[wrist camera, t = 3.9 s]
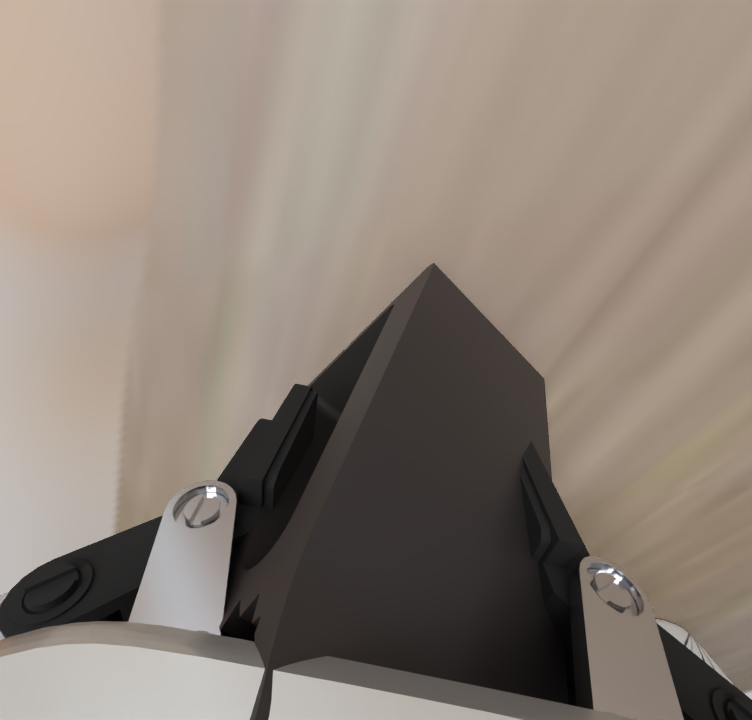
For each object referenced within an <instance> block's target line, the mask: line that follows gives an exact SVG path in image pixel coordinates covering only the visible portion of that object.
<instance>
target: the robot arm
mask: <svg viewBox="0 0 752 720" xmlns="http://www.w3.org/2000/svg"><path fill="white" fill-rule="evenodd" d="M317 399H318V393H317V392H313V388H312V387H310V386H305V385H300V384H295V385H294V386H293V388H292V389H291V391H290V392H289V394H288V396H287V397H286V399H285V400H284V402H283V404H282V405H281V407H280V408H279V410H278V412H277V413H276V415H275V417H274V418H273V420H267V419H259V421H258V422H257V423H256V424H255V426H254V427H253V429H252V430H251V432H250V433H249V435H248V436H247V437H246V439H245V440H244V442H243V443H242V445H241V446H240V448H239V449H238V451H237V452H236V453H235V455H234V456H233V458H232V459H231V461H230V462H229V464H228V465H227V467H226V468H225V469H224V471H223V472H222V474H221V475H220V477H219V478H218V480H217V481H211V480H207V481H201V482H196V483H194V484H191V485H189V486H186V487H185V488H183V489H182V490H180V491H179V492H177V493H176V494H175V495H174V496H173V497H172V498H171V500H170V501H169V503H168V505H167V506H166V508H165V511H164V514H163V516H160V517H158V518H155V519H153V520H150V521H148V522H145V523H143V524H140V525H138V526H135V527H133V528H131V529H128V530H126V531H123V532H121V533H118V534H116V535H113V536H111V537H108V538H106V539H103V540H101V541H98V542H96V543H93V544H91V545H88V546H86V547H83V548H81V549H78V550H76V551H73V552H71V553H69V554H66V555H63V556H61V557H58V558H56V559H54V560H52V561H50V562H47V563H46V564H44V565H42V566H40V567H38V568H37V569H35V570H34V571H32V572H31V573H29V574H28V575H26V576H25V577H24V578H23V579H21V580H20V582H18V584H16V585H15V586H14V587H13V588H12V589H11V590H10V592H8V593H5V594H3V595H0V720H250V717H251V714H252V710H253V707H254V704H255V700H256V697H257V694H258V690H259V687H260V684H261V680H262V677H263V674H264V670H265V667H264V664H263V661H262V658H261V656H260V653H259V651H258V649H257V647H256V645H255V642H253V641H248V640H243V639H238V638H232V637H226V636H223V632H224V631H222V630H221V629H220V628H219V626H220V624H221V622H222V620H223V615H224V610H225V604H226V598H227V593H228V587H229V581H230V576H231V569H232V560H233V551H234V550H235V548H236V547H237V546H238V545H239V544H240V542H241V541H242V540H243V539H244V538H245V536H246V535H247V534H248V533H249V532H250V530H251V528H252V526H253V523H254V521H255V519H256V517H257V515H258V513H259V511H260V509H261V508H262V506H263V504H264V505H265V506H267V507H268V508H270V509H271V510H273V509H274V507H275V505H276V503H277V502H278V500H279V498H280V496H281V495H282V493H283V491H284V490H285V488H286V486H287V484H288V483H289V481H290V479H291V477H292V476H293V474H294V472H295V470H296V469H297V467H298V465H299V463H300V462H301V460H302V458H303V456H304V455H305V453H306V451H307V449H308V448H309V446H310V444H311V442H312V441H313V436H314V427H315V418H316V409H317ZM522 457H523V464H524V468H523V470H522V472H521V474H520V479H521V486H522V493H523V501H524V508H525V515H526V523H527V530H528V537H529V545H530V552H531V558H532V559H533V560H535V561H536V562H537V563H538V564H539V565H538V566H539V573H540V580H541V587H542V594H543V601H544V606H545V608H546V610H547V612H548V614H549V616H550V618H551V620H552V622H553V624H554V627H555V629H556V631H557V633H558V635H559V637H560V639H561V641H562V643H563V645H564V649H565V662H566V675H567V689H568V700H569V705H568V704H563V703H558V702H553V701H548V700H543V699H539V698H534V697H529V696H524V695H519V694H514V693H510V692H505V691H500V690H495V689H490V688H485V687H480V686H475V685H470V684H465V683H460V682H455V681H450V680H446V679H441V678H436V677H431V676H426V675H421V674H416V673H411V672H406V671H401V670H396V669H391V668H386V667H381V666H376V665H371V664H366V663H361V662H356V661H351V660H346V659H340V658H335V657H330V656H325V657H319V658H314V659H310V660H305V661H300V662H297V663H293V664H289V665H286V666H283V667H281V668H278V669H275V670H273V682H272V700H271V707H270V714H269V719H268V720H752V700H751V699H750V698H749V697H747V696H746V695H745V694H744V693H743V692H741V691H740V690H739V689H738V688H736V687H735V686H734V685H733V684H731V683H730V682H729V681H728V680H727V679H725V678H724V677H723V676H722V675H720V674H719V673H718V672H717V671H715V670H714V669H713V668H712V667H711V666H709V665H708V664H707V663H706V662H704V661H703V660H702V659H701V658H699V657H698V656H697V655H696V654H694V653H693V652H692V651H691V650H690V649H688V648H687V647H686V646H685V645H683V644H682V643H681V642H680V641H678V640H677V639H676V638H675V637H674V636H672V635H671V634H670V633H669V632H667V631H666V630H665V629H664V628H662V627H661V626H660V625H659V624H657V623H656V620H655V616H654V613H653V609H652V606H651V603H650V601H649V599H648V596H647V595H646V593H645V592H644V590H643V589H642V587H641V586H640V584H639V583H638V582H637V581H636V580H635V579H634V578H633V577H632V576H631V575H630V574H629V573H627V572H626V571H625V570H624V569H622V568H621V567H620V566H618V565H617V564H615V563H613V562H611V561H610V560H607V559H605V558H602V557H599V556H590V555H589V553H588V551H587V549H586V547H585V545H584V543H583V541H582V539H581V537H580V535H579V533H578V531H577V529H576V527H575V525H574V524H573V522H572V520H571V518H570V516H569V514H568V512H567V510H566V508H565V506H564V504H563V502H562V500H561V498H560V496H559V494H558V492H557V490H556V488H555V486H554V484H553V482H552V481H551V479H550V477H549V475H548V473H547V471H546V469H545V467H544V465H543V463H542V461H541V459H540V457H539V455H538V453H537V451H536V449H535V447H534V445H533V443H532V441H531V442H530V444H529V446H528V447H527V449H526V451H525V452H524V454H523V456H522Z"/></svg>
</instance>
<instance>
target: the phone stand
mask: <svg viewBox="0 0 752 720" xmlns="http://www.w3.org/2000/svg"><path fill="white" fill-rule="evenodd" d="M308 386H310V387H312V388H313V392H317V393H318V399H317V409H316V418H315V427H314V436H313V441H312V442H311V444H310V446H309V448H308V449H307V451H306V453H305V455H304V456H303V458H302V460H301V462H300V463H299V465H298V467H297V469H296V470H295V472H294V474H293V476H292V477H291V479H290V481H289V483H288V484H287V486H286V488H285V490H284V491H283V493H282V495H281V496H280V498H279V500H278V502H277V503H276V505H275V507H274V509H273V510H271V509H270V508H268V507H267V506H265V505H264V504H263V506H262V508H261V509H260V511H259V513H258V515H257V517H256V519H255V521H254V523H253V526H252V528H251V530H250V532H249V533H248V534H247V535H246V536H245V538H244V539H243V540H242V541H241V542H240V544H239V545H238V546H237V547H236V548H235V550H234V551H233V560H232V569H231V576H230V581H229V587H228V593H227V598H226V604H225V610H224V615H223V620H222V622H221V624H220V626H219V628H220V629H221V630H222V631H224V632H223V636H226V637H232V638H238V639H243V640H248V641H253V642H255V645H256V647H257V649H258V651H259V653H260V656H261V658H262V661H263V664H264V667H265V670H264V674H263V677H262V680H261V684H260V687H259V690H258V694H257V697H256V700H255V704H254V707H253V710H252V714H251V717H250V720H268V719H269V714H270V707H271V700H272V682H273V670H275V669H278V668H281V667H283V666H286V665H289V664H293V663H297V662H300V661H305V660H310V659H314V658H319V657H325V656H330V657H335V658H340V659H346V660H351V661H356V662H361V663H366V664H371V665H376V666H381V667H386V668H391V669H396V670H401V671H406V672H411V673H416V674H421V675H426V676H431V677H436V678H441V679H446V680H450V681H455V682H460V683H465V684H470V685H475V686H480V687H485V688H490V689H495V690H500V691H505V692H510V693H514V694H519V695H524V696H529V697H534V698H539V699H543V700H548V701H553V702H558V703H563V704H568V705H569V700H568V689H567V675H566V662H565V649H564V645H563V643H562V641H561V639H560V637H559V635H558V633H557V631H556V629H555V627H554V624H553V622H552V620H551V618H550V616H549V614H548V612H547V610H546V608H545V606H544V601H543V594H542V587H541V580H540V573H539V566H538V565H539V564H538V563H537V562H536V561H535V560H533V559H532V558H531V552H530V545H529V537H528V530H527V523H526V515H525V508H524V501H523V493H522V486H521V479H520V474H521V472H522V470H523V468H524V464H523V457H522V456H523V454H524V452H525V451H526V449H527V447H528V446H529V444H530V442H531V441H532V443H533V445H534V447H535V449H536V451H537V453H538V455H539V457H540V459H541V461H542V463H543V465H544V467H545V469H546V471H547V473H548V475H549V477H550V479H551V481H552V476H551V462H550V449H549V436H548V422H547V409H546V396H545V382H544V378H543V377H542V376H541V375H540V374H539V373H538V372H537V371H536V370H535V369H534V368H533V367H532V365H531V364H530V363H529V362H528V361H527V360H526V359H525V358H524V357H523V356H522V355H521V354H520V353H519V352H518V351H517V350H516V349H515V348H514V347H513V346H512V344H511V343H510V342H509V341H508V340H507V339H506V338H505V337H504V336H503V335H502V334H501V333H500V332H499V331H498V330H497V329H496V328H495V327H494V326H493V325H492V323H491V322H490V321H489V320H488V319H487V318H486V317H485V316H484V315H483V314H482V313H481V312H480V311H479V310H478V309H477V308H476V307H475V306H474V305H473V304H472V302H471V301H470V300H469V299H468V298H467V297H466V296H465V295H464V294H463V293H462V292H461V291H460V290H459V289H458V288H457V287H456V286H455V285H454V284H453V283H452V281H451V280H450V279H449V278H448V277H447V276H446V275H445V274H444V273H443V272H442V271H441V270H440V269H439V268H438V267H437V266H436V265H435V264H434V263H433V264H431V265H430V266H429V267H428V268H426V269H425V270H424V271H423V272H422V273H421V274H420V275H419V276H418V277H417V278H416V279H415V280H414V281H413V282H412V283H411V284H410V285H409V286H408V287H407V288H406V289H405V290H404V291H403V292H402V293H401V294H400V295H399V296H398V297H397V298H396V299H395V300H394V301H393V302H392V303H391V304H390V305H389V306H388V307H387V308H386V309H385V310H384V311H383V312H382V313H381V314H380V315H379V316H378V317H377V318H376V319H375V320H374V321H373V322H372V323H371V324H370V325H369V326H368V327H367V328H366V329H365V330H364V331H363V332H362V333H361V334H360V335H359V336H358V337H357V338H356V339H355V340H354V341H353V342H352V343H351V344H350V345H349V346H348V348H347V349H346V350H343V351H342V352H341V353H340V354H339V355H338V356H337V357H336V358H335V359H334V360H333V361H332V362H331V363H330V364H329V365H328V366H327V367H326V368H325V369H324V370H323V371H322V372H321V373H320V374H319V375H318V376H317V377H316V378H315V379H314V380H313V381H312V382H311V383H310V384H309V385H308Z"/></svg>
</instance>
